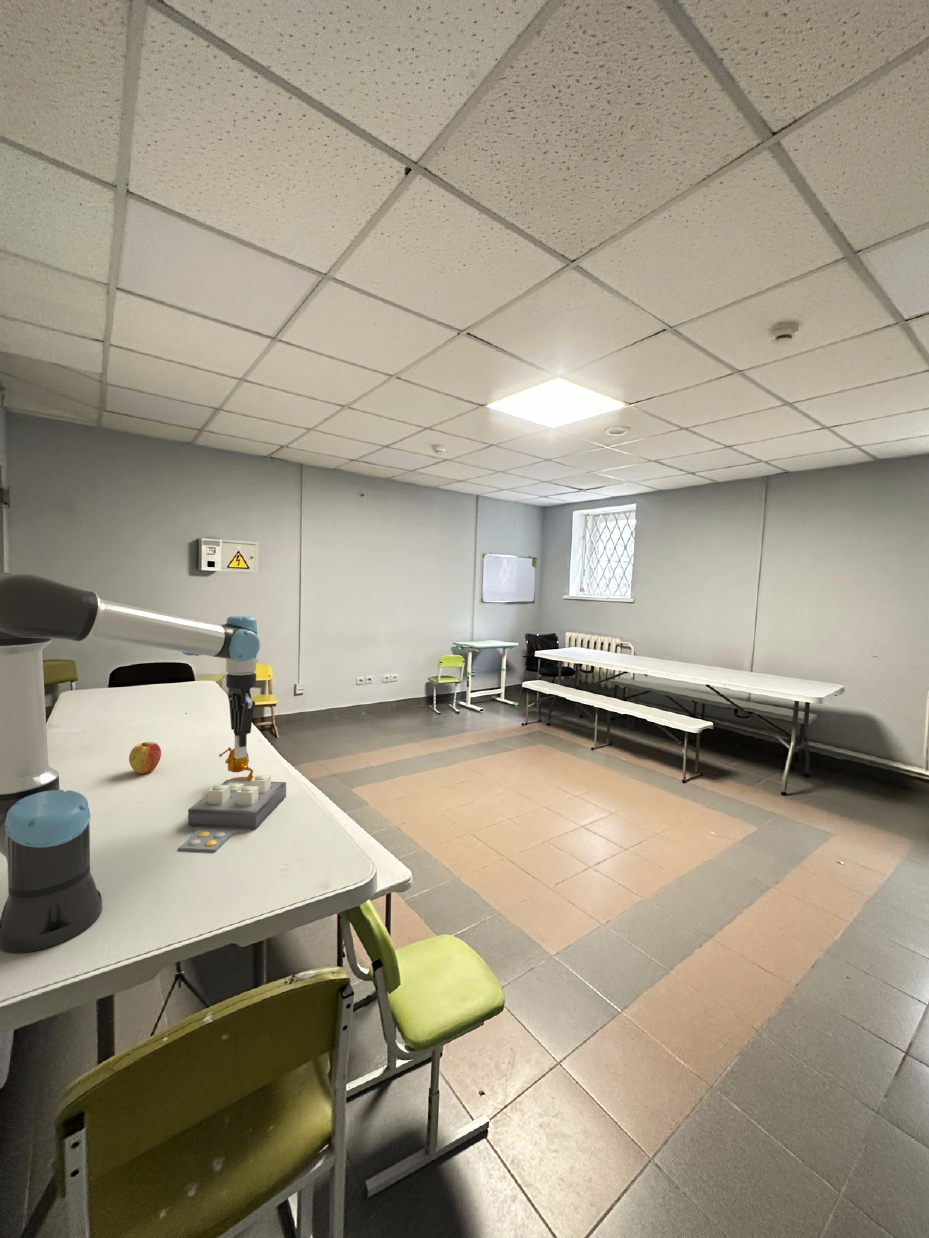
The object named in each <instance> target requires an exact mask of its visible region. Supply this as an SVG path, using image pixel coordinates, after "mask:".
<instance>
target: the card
mask: <svg viewBox="0 0 929 1238" xmlns="http://www.w3.org/2000/svg"><path fill="white" fill-rule="evenodd" d="M234 834H235V831H234V830H223V829H222V830H219V829H202V828H201V829H198V830H197V831H196V832H195V833H193V835H192V836H190V837H189V838H188V839H187V840H186V841H184V843H182V844H181V845H180V846H178V848H177V850H178V851H188V852H190V851H191V852H205V853H206V852H211V853H216V852H217V851H218V850H220V848H221V847H222V846H223V845H224V844H225V843H226V842H227V841H229V839H230V838H232V836H233V835H234Z"/></svg>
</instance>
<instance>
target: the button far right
mask: <svg viewBox="0 0 929 1238" xmlns="http://www.w3.org/2000/svg"><path fill="white" fill-rule="evenodd" d="M271 779H272V776H271V775H266V774H257V775H255V776H254V778H253V779H252V780H251V786H256V787H258V793H264V794H266V793H267V792H268V791H269V790H270V789H271V782H272V780H271Z"/></svg>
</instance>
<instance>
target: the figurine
mask: <svg viewBox="0 0 929 1238" xmlns="http://www.w3.org/2000/svg"><path fill="white" fill-rule="evenodd" d="M234 749H235V747H233V749H232V748H231V747H230V746H229V747H228V748H227V749H226V750H224V751H222V752H221V753H219V755H218V757H221V758H222V757H223V755H224V754H226V753H227V752H228V751H229V754H228V758H226V760H225V763H224V764H227V772H231V773H242V772H244V771H248V772H249V773H248V775H247V776H240V777H239V776H238V777H237V776H236V777H231V778H230V779H229V780H245V781H251V780H252V779H253V778H254V777H255V776H254V775H253V773H254V769H252V768H251V767H249V761H250V760H249V759H250V758H249V753H248V752H247V757H244V758H239V759H236V758H234Z"/></svg>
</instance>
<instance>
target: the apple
mask: <svg viewBox="0 0 929 1238" xmlns="http://www.w3.org/2000/svg"><path fill="white" fill-rule="evenodd" d="M161 757H162V750H161V747H160V745H159V744H158V743H156V742H154V741H145V742H141V743H139V744H136V746H134V747H133V748H132V749H131V751H130V752H129V757H128V762H129V765H130V767H131V768H132V769H133V771H134V772H135V773H136V774H139V775H145V774H148V773H151V772H154V770H155V769H156V768H157V767H158V765H159V763H160V761H161Z"/></svg>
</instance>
